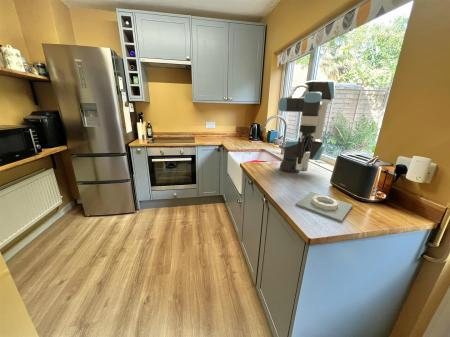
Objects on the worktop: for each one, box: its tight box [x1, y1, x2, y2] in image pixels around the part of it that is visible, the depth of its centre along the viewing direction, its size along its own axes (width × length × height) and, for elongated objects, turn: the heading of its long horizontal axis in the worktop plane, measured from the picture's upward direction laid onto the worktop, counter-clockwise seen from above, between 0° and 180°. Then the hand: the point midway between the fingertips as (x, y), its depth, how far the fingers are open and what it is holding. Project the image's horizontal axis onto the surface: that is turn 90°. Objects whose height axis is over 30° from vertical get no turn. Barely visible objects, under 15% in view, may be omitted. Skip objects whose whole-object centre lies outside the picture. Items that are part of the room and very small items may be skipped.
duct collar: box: [296, 151, 310, 172], centre depth 101 cm, size 6×6×10 cm
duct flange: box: [295, 191, 354, 223], centre depth 92 cm, size 20×20×3 cm
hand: (301, 168), depth 103 cm, fingers closed on duct collar, 6 cm apart
